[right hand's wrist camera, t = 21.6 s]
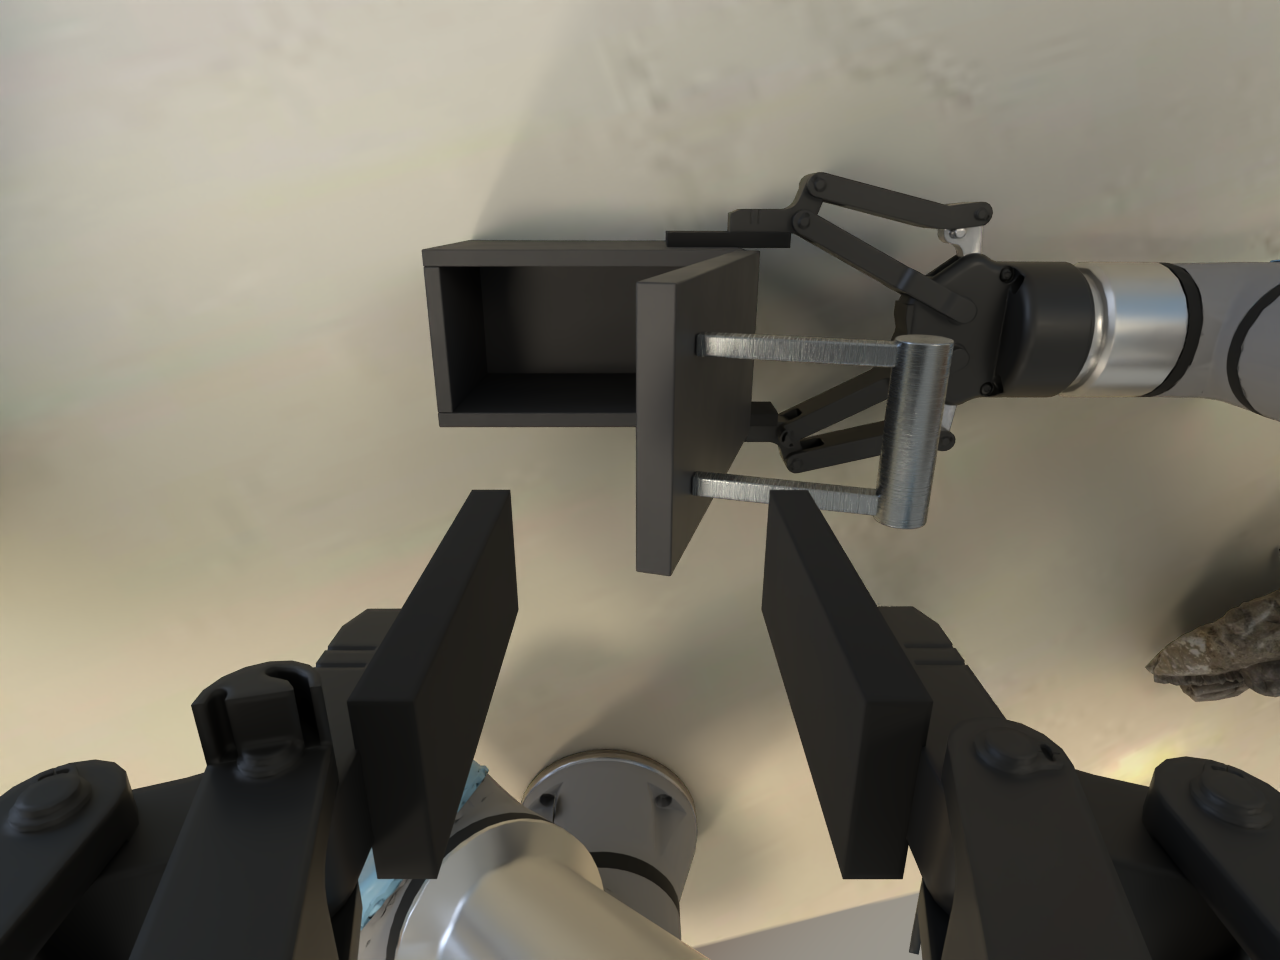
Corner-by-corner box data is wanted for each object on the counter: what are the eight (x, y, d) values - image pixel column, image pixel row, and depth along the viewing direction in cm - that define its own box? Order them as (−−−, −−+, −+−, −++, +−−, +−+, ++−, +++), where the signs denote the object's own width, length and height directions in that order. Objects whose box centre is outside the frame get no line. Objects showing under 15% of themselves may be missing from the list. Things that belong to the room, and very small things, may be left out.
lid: (635, 571, 23) (925, 613, 21) (635, 281, 20) (976, 291, 18) (727, 429, 39) (902, 444, 36) (735, 250, 35) (928, 253, 33)
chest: (478, 382, 49) (438, 427, 39) (467, 240, 46) (421, 249, 36) (715, 382, 49) (737, 427, 39) (721, 240, 46) (745, 249, 36)
